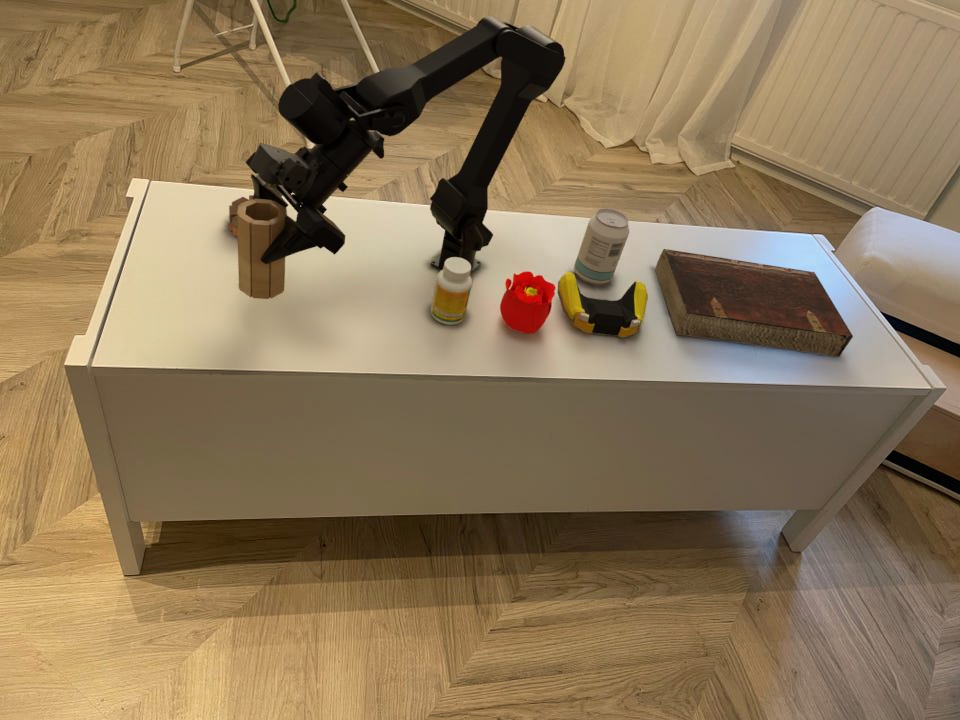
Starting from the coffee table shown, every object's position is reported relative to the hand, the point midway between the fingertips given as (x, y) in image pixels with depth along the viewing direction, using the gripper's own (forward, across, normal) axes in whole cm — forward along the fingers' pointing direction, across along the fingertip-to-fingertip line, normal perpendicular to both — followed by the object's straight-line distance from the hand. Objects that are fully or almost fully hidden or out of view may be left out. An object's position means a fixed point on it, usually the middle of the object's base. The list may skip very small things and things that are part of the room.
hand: (252, 248), depth 103 cm
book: (-45, +30, +63) cm, 84 cm away
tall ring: (+4, 0, +6) cm, 7 cm away
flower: (-17, +17, +35) cm, 42 cm away
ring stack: (+2, -21, +16) cm, 27 cm away
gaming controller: (-26, +21, +44) cm, 56 cm away
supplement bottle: (-10, +10, +28) cm, 32 cm away
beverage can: (-31, +12, +49) cm, 60 cm away
